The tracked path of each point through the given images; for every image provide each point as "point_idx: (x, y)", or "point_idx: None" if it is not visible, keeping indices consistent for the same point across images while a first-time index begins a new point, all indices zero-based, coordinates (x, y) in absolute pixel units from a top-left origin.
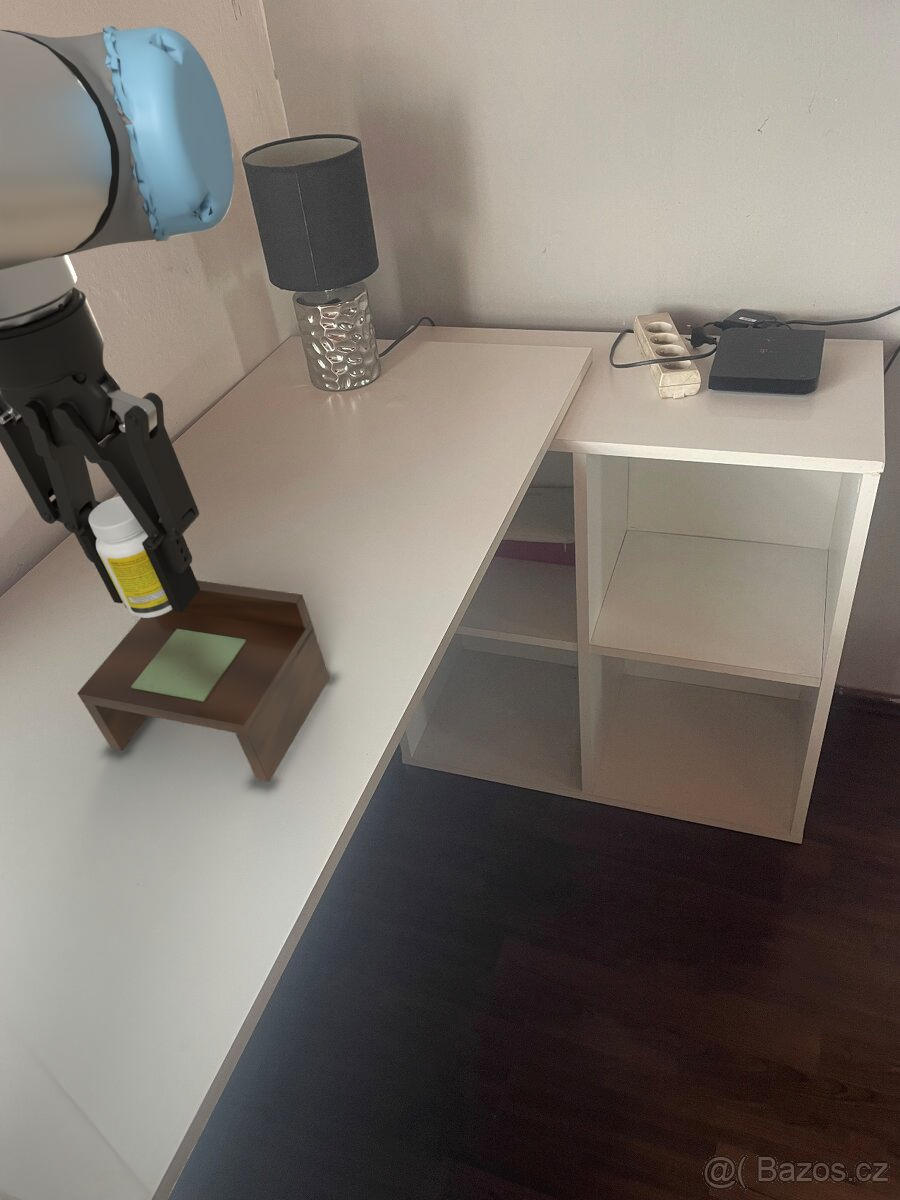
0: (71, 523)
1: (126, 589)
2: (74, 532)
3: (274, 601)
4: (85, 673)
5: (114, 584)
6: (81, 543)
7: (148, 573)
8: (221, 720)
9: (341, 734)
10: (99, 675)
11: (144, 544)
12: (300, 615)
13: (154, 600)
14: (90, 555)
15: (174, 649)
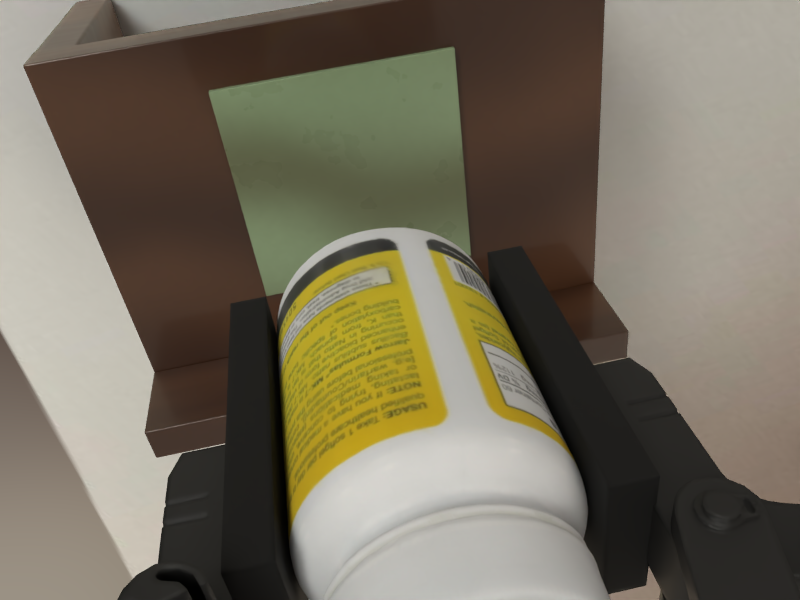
0: (717, 532)
1: (384, 308)
2: (697, 481)
3: (210, 416)
4: (724, 87)
5: (462, 308)
6: (677, 426)
7: (297, 409)
8: (98, 54)
9: (35, 181)
10: (580, 46)
11: (198, 579)
12: (150, 403)
13: (300, 308)
14: (604, 391)
15: (426, 200)
